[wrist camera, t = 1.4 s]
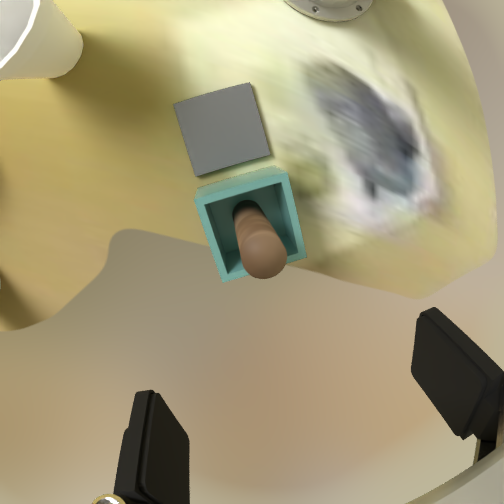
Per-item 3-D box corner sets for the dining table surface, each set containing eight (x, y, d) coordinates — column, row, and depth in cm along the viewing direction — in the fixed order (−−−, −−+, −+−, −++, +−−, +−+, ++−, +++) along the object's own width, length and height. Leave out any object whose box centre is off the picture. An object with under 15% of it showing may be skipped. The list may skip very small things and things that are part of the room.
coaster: (249, 83, 28) (249, 82, 27) (269, 154, 31) (270, 154, 30) (173, 104, 28) (173, 104, 27) (195, 175, 31) (195, 176, 30)
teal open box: (274, 165, 31) (287, 172, 26) (292, 237, 35) (306, 257, 29) (197, 188, 31) (193, 199, 26) (221, 258, 35) (222, 282, 29)
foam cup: (109, 22, 23) (60, -24, 11) (76, 96, 26) (8, 84, 14) (48, 16, 20) (-11, -17, 8) (18, 84, 23) (-52, 77, 11)
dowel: (257, 196, 32) (281, 230, 21) (265, 223, 33) (291, 271, 22) (228, 204, 32) (236, 244, 21) (237, 232, 33) (248, 284, 22)
